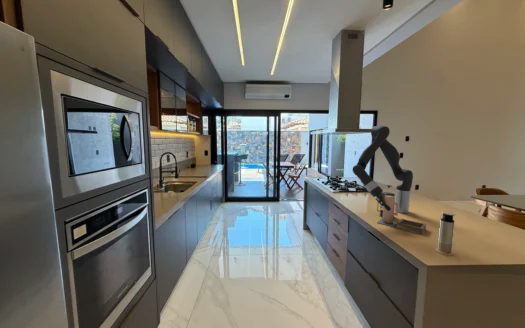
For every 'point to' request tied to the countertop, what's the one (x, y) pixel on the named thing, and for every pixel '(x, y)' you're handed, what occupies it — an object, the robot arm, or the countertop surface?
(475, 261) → the countertop surface
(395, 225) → the mat
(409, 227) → the wooden tray
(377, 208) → the french press
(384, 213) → the jug
